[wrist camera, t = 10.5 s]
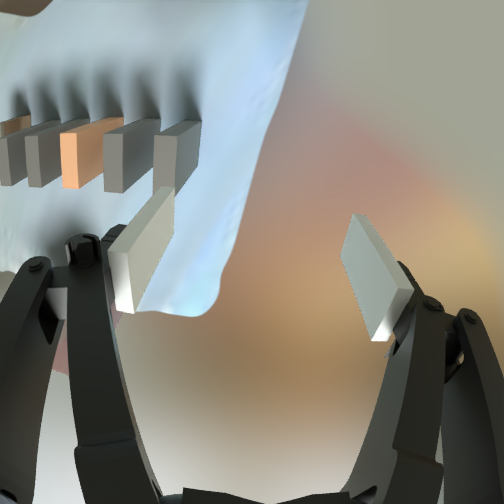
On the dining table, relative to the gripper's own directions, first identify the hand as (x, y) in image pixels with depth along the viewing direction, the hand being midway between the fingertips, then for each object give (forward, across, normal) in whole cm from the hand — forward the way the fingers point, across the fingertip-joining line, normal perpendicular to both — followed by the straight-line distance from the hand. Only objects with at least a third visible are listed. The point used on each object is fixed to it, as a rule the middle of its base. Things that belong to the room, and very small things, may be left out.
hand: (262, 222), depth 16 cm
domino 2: (+18, -21, 0) cm, 27 cm away
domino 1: (+18, -26, 0) cm, 31 cm away
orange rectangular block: (+18, -16, 0) cm, 24 cm away
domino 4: (+18, -8, 0) cm, 19 cm away
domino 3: (+18, -12, 0) cm, 21 cm away
